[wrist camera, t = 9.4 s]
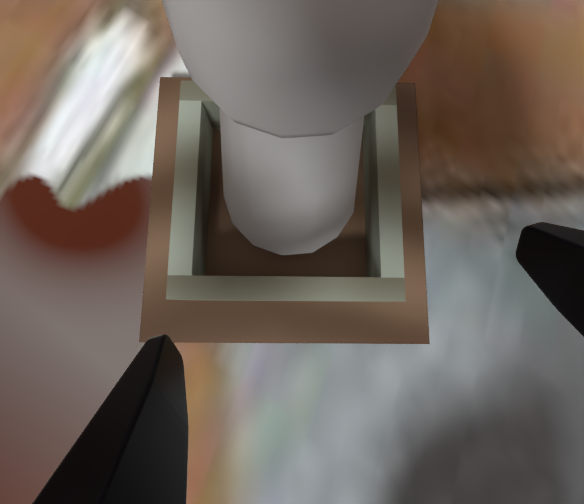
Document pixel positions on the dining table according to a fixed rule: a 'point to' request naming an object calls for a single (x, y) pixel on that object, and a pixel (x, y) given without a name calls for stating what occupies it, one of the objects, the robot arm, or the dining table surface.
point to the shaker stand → (273, 267)
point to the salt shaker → (295, 102)
